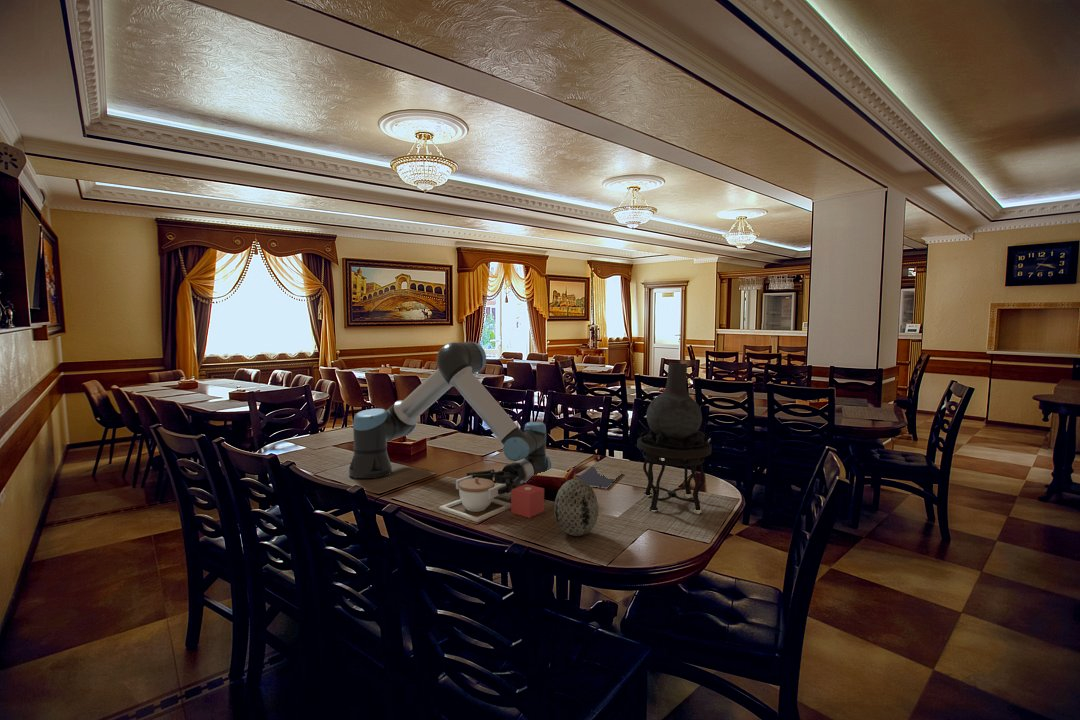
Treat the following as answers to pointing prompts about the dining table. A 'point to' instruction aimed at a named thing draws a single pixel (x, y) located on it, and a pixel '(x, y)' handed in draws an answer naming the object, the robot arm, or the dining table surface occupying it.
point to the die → (527, 500)
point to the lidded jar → (475, 493)
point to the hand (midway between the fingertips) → (472, 489)
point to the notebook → (595, 479)
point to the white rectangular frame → (473, 518)
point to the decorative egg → (576, 507)
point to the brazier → (674, 436)
